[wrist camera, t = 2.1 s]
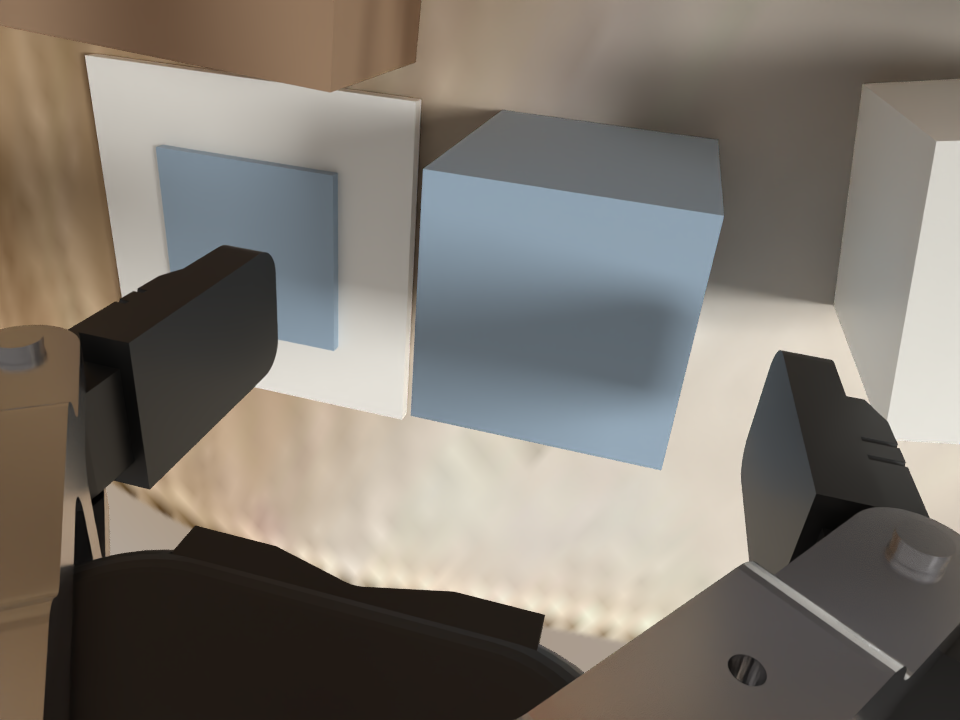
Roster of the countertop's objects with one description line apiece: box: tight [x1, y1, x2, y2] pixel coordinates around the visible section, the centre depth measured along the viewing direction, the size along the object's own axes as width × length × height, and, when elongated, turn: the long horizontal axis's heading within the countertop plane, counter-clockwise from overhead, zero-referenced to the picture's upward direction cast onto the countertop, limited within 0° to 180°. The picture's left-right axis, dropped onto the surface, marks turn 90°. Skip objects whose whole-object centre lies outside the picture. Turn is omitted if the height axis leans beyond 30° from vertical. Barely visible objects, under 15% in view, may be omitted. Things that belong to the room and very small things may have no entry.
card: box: [85, 54, 421, 420], centre depth 21 cm, size 9×9×1 cm
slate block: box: [411, 110, 724, 470], centre depth 16 cm, size 5×5×6 cm
